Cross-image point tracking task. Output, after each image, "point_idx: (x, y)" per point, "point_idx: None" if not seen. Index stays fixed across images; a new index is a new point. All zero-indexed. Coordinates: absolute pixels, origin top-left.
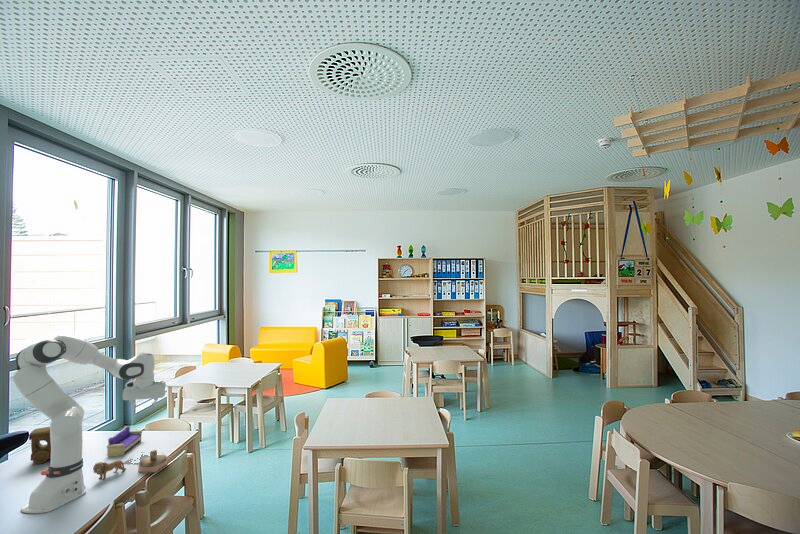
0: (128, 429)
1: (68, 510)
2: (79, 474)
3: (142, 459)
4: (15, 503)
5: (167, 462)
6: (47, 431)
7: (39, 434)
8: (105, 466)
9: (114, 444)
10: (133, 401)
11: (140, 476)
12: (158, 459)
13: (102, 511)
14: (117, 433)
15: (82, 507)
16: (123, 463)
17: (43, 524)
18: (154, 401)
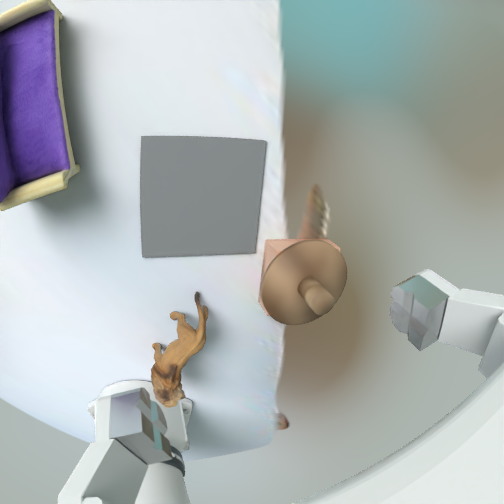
0: None
1: (213, 433)
2: (184, 445)
3: (264, 290)
4: (77, 430)
5: (331, 242)
6: None
7: None
8: (179, 375)
9: (22, 195)
10: (92, 485)
11: None
12: (324, 281)
13: (282, 420)
14: None
15: (233, 424)
16: (148, 251)
17: (208, 454)
18: (466, 350)
